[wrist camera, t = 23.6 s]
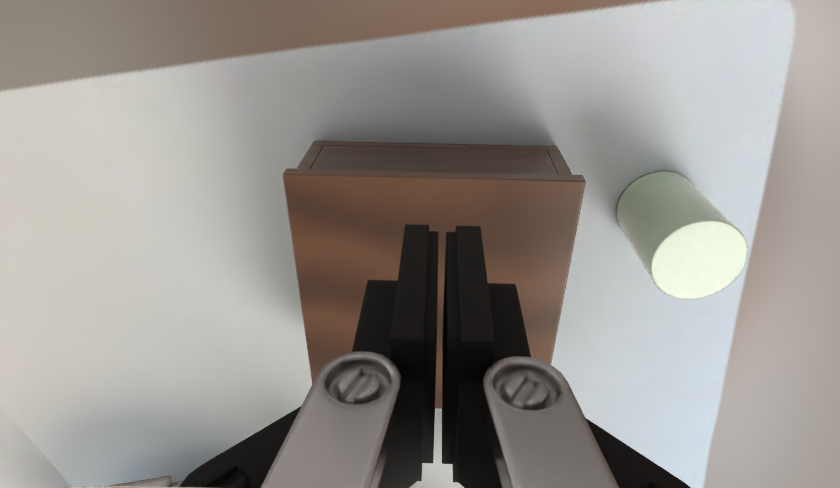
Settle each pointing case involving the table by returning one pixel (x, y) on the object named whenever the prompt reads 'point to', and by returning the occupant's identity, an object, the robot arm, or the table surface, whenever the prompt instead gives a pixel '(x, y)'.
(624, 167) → the table surface
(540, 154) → the wooden box
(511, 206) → the lid
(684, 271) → the jar
